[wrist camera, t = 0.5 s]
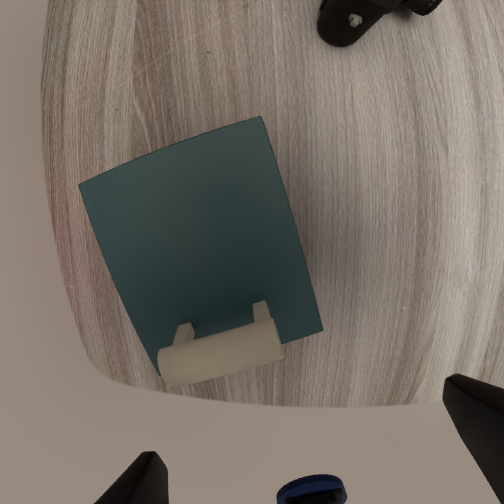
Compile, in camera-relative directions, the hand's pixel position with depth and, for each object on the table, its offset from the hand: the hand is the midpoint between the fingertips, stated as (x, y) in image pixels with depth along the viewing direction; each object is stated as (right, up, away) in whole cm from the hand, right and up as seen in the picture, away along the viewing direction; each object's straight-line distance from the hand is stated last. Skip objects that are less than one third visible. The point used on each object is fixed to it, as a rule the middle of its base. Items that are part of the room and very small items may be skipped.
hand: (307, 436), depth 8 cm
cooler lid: (-4, +5, +8) cm, 10 cm away
